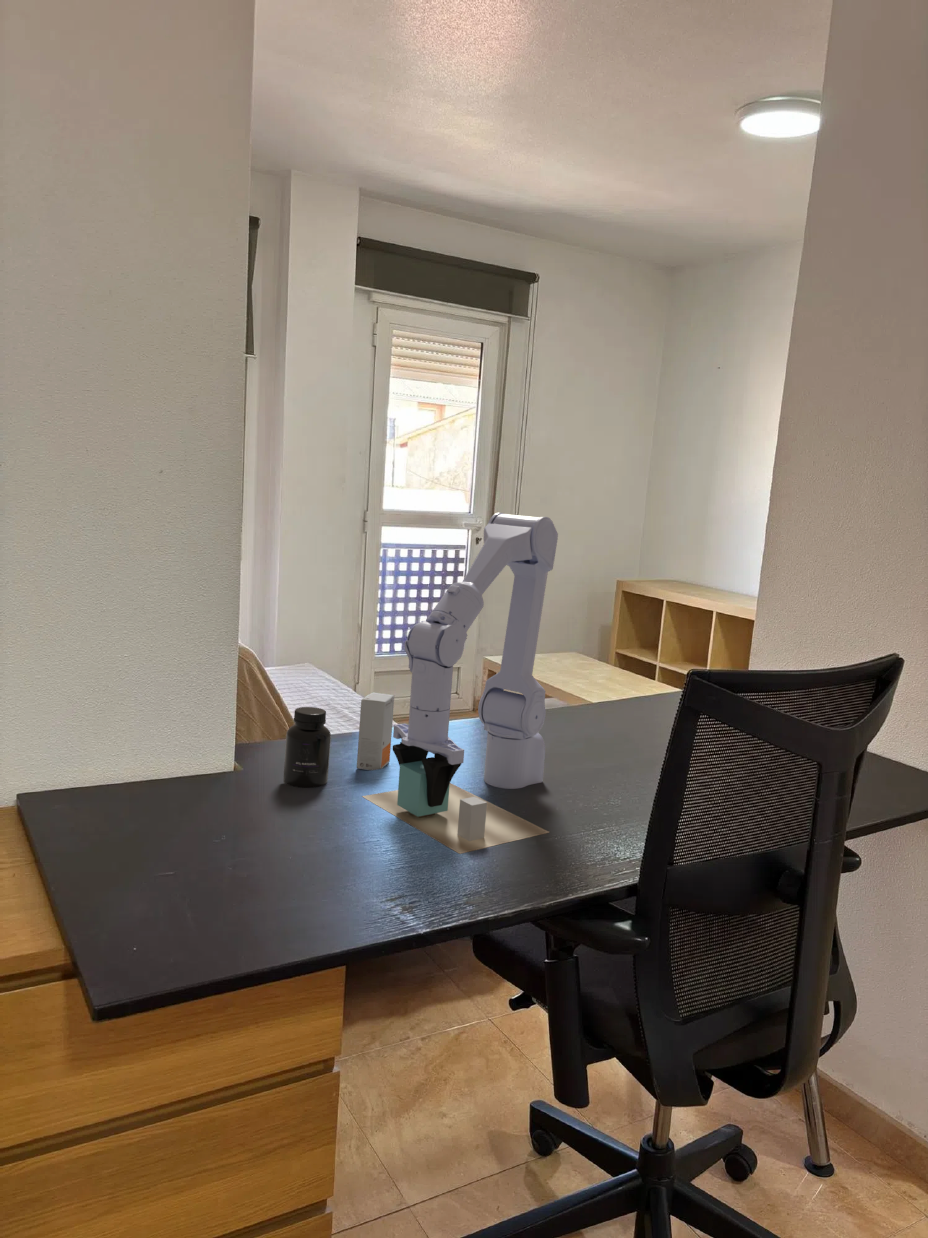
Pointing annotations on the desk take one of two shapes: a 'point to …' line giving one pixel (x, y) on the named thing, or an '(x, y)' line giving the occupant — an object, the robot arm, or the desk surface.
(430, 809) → the teal green block
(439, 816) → the board
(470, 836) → the grey post
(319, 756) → the supplement bottle
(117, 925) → the desk surface
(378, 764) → the skincare box
